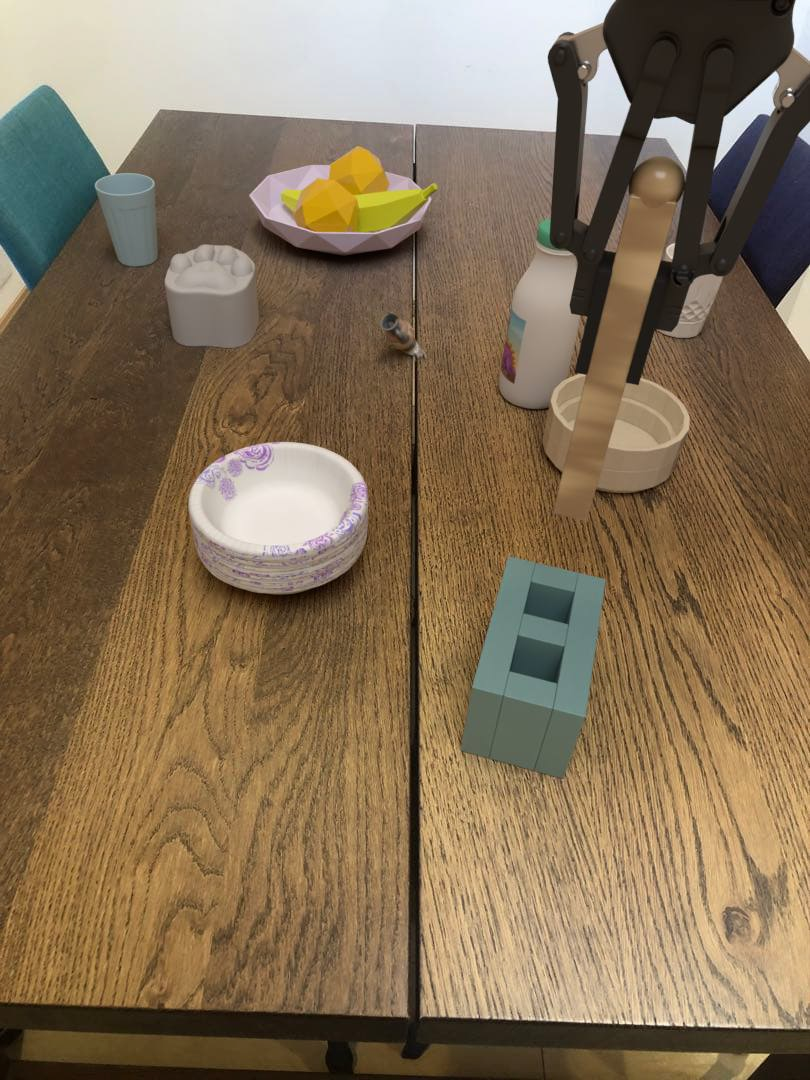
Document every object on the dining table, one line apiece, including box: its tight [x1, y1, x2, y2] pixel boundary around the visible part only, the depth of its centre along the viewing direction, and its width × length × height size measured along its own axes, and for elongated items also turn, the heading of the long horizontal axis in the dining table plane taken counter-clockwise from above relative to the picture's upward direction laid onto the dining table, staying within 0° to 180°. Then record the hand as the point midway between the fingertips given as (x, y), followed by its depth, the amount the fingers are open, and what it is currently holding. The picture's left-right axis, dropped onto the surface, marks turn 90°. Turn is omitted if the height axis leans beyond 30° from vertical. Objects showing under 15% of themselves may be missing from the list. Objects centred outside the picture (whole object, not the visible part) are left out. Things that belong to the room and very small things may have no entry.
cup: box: [94, 172, 159, 267], centre depth 112 cm, size 8×8×10 cm
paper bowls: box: [187, 441, 369, 596], centre depth 72 cm, size 15×15×8 cm
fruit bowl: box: [248, 145, 439, 257], centre depth 121 cm, size 28×27×11 cm
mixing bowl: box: [541, 373, 691, 494], centre depth 87 cm, size 14×14×6 cm
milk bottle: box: [498, 218, 581, 410], centre depth 90 cm, size 8×8×20 cm
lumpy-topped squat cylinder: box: [164, 243, 260, 349], centre depth 102 cm, size 10×13×9 cm
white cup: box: [655, 242, 725, 339], centre depth 107 cm, size 8×8×10 cm
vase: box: [379, 312, 428, 364], centre depth 99 cm, size 5×5×6 cm
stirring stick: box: [552, 155, 686, 522], centre depth 50 cm, size 3×3×24 cm
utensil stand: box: [459, 555, 607, 780], centre depth 62 cm, size 8×13×8 cm, turn 164°
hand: (608, 366), depth 50 cm, fingers closed on stirring stick, 2 cm apart
